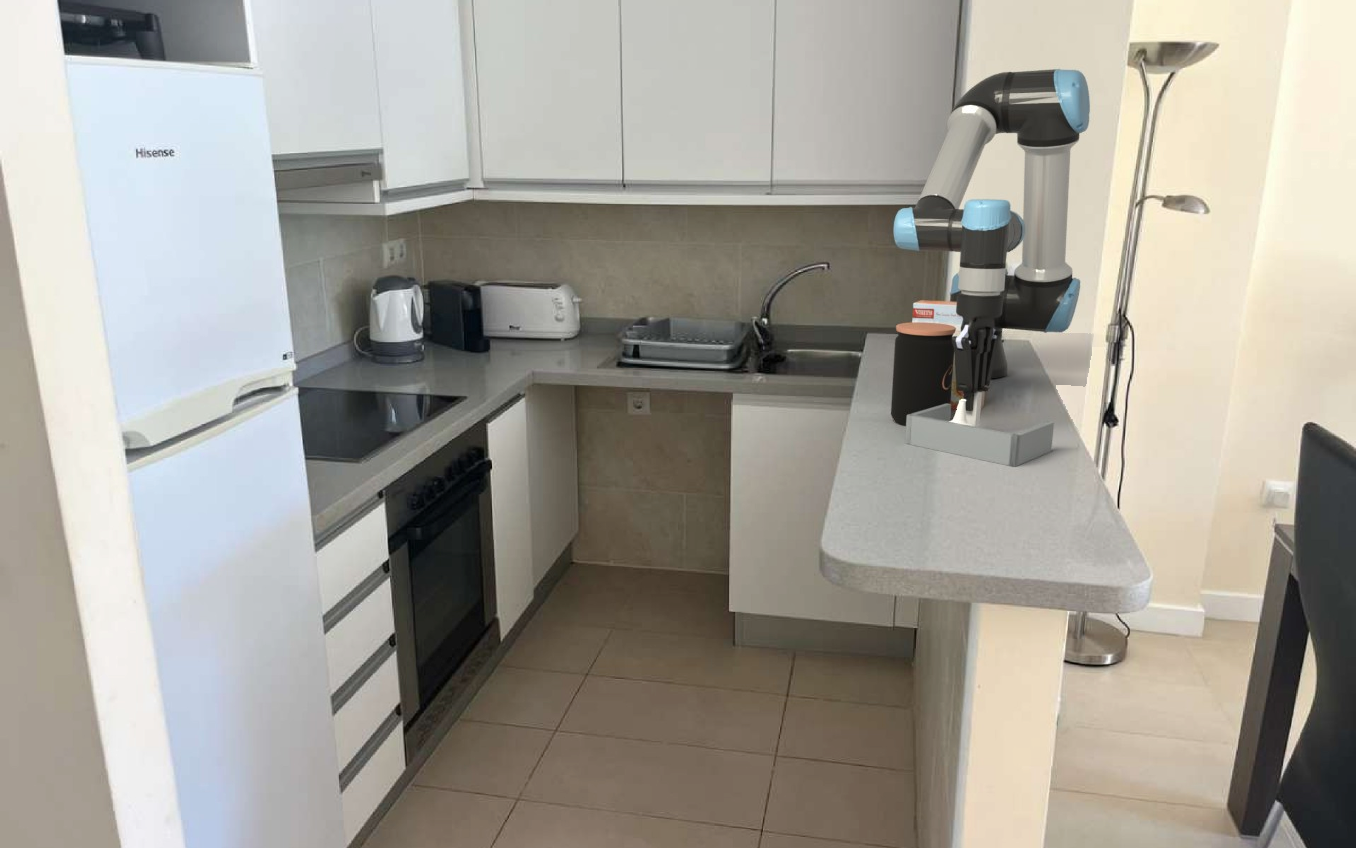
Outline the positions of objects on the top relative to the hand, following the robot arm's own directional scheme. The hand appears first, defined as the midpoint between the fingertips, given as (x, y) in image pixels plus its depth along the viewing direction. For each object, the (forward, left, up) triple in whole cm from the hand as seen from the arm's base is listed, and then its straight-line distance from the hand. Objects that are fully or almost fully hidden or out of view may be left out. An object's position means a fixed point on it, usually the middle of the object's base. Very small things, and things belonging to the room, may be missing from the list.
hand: (969, 427), depth 175 cm
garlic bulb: (+5, 0, -2) cm, 5 cm away
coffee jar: (-4, -13, -2) cm, 14 cm away
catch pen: (+4, +4, -2) cm, 6 cm away
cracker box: (-19, -16, -2) cm, 25 cm away
